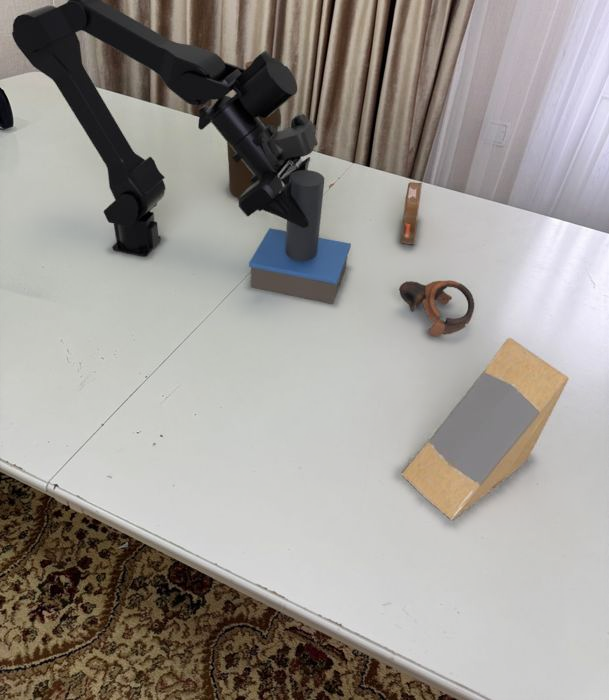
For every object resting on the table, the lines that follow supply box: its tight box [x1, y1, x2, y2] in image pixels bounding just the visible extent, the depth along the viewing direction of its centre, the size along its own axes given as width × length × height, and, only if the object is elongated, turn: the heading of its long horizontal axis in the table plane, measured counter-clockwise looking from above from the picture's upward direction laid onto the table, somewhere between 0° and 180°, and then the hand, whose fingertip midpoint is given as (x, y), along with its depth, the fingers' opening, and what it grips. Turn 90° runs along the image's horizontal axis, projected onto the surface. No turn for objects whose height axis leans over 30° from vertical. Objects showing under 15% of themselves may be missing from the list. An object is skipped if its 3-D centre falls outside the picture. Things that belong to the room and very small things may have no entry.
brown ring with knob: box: [398, 280, 475, 338], centre depth 98 cm, size 12×10×8 cm
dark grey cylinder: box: [285, 169, 325, 261], centre depth 96 cm, size 5×5×13 cm
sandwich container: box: [401, 337, 569, 521], centre depth 73 cm, size 9×15×15 cm, turn 129°
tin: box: [400, 181, 423, 246], centre depth 118 cm, size 15×3×8 cm, turn 168°
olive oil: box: [226, 60, 282, 199], centre depth 120 cm, size 11×11×25 cm
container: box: [248, 227, 352, 305], centre depth 105 cm, size 15×12×5 cm
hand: (312, 218), depth 96 cm, fingers closed on dark grey cylinder, 5 cm apart
